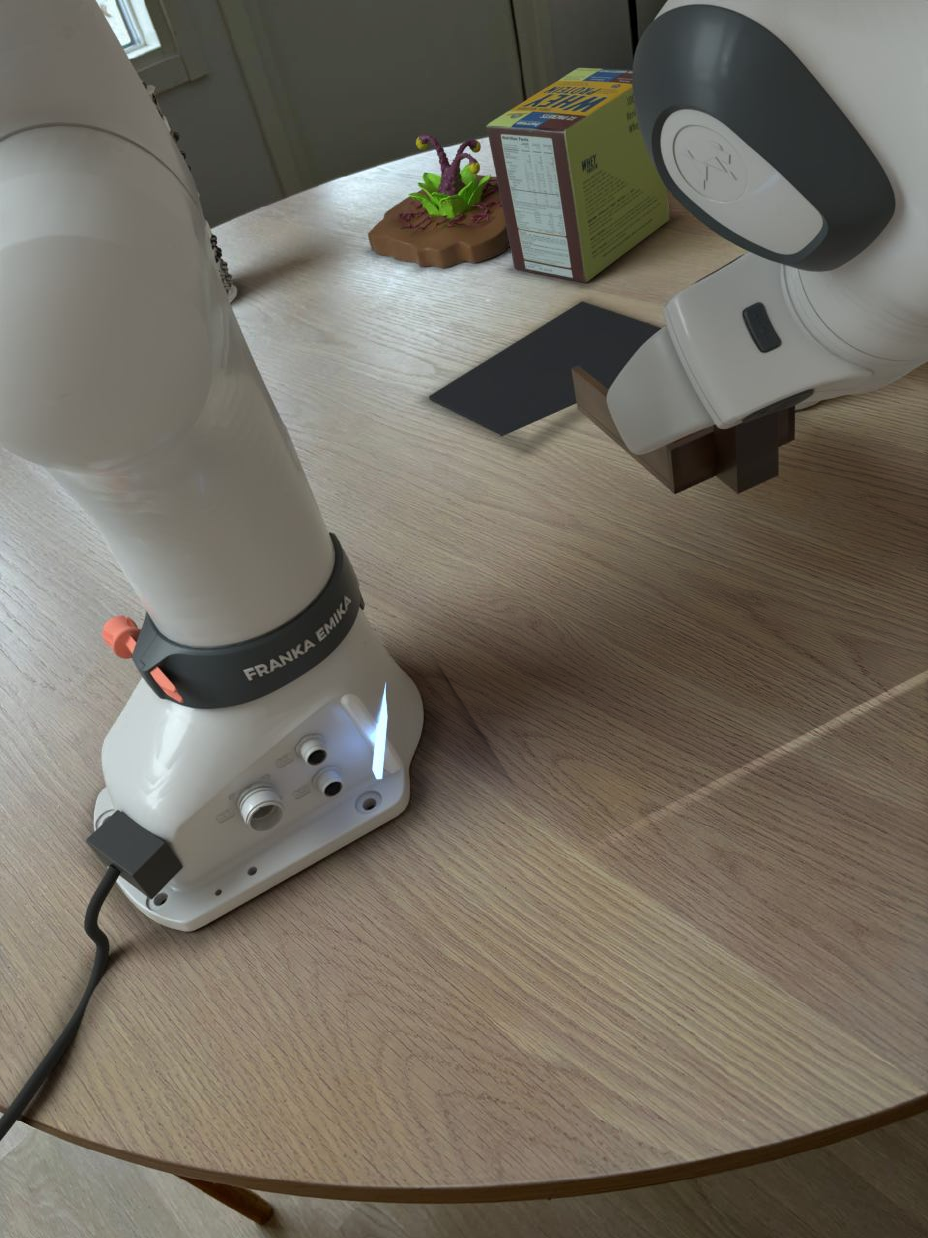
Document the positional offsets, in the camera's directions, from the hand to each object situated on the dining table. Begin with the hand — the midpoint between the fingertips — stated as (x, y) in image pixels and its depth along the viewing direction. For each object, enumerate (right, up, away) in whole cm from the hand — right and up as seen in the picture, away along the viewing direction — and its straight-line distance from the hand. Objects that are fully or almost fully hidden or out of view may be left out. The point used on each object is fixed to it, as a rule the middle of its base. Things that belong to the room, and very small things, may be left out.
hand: (738, 389), depth 60 cm
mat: (-8, +9, +34) cm, 36 cm away
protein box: (-2, +27, +52) cm, 58 cm away
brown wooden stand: (-1, -1, +8) cm, 8 cm away
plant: (-17, +34, +63) cm, 73 cm away
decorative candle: (-48, +25, +64) cm, 84 cm away
